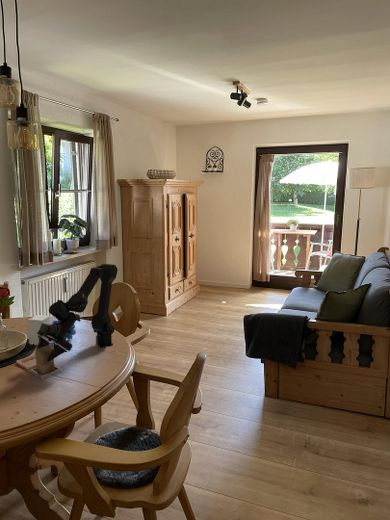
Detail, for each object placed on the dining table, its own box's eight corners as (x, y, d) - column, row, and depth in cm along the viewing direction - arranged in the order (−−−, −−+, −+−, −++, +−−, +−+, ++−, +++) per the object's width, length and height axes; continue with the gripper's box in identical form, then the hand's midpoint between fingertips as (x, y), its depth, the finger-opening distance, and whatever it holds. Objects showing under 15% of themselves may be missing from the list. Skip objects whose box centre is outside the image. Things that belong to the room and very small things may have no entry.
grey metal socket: (49, 365, 165) (49, 362, 165) (61, 371, 160) (60, 368, 159) (30, 372, 158) (30, 369, 158) (41, 379, 153) (41, 376, 153)
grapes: (50, 344, 187) (49, 321, 185) (52, 339, 193) (50, 316, 191) (76, 342, 190) (75, 319, 188) (76, 337, 196) (75, 314, 194)
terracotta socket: (39, 355, 174) (38, 353, 174) (51, 362, 168) (51, 359, 168) (16, 363, 167) (16, 360, 166) (28, 370, 160) (28, 367, 160)
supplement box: (42, 345, 186) (41, 320, 183) (28, 344, 187) (27, 319, 185) (51, 340, 193) (49, 315, 190) (37, 338, 194) (36, 314, 192)
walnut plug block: (48, 368, 163) (46, 345, 161) (54, 371, 159) (53, 348, 158) (36, 372, 159) (35, 349, 157) (43, 376, 156) (41, 352, 154)
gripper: (39, 310, 164) (15, 342, 157) (64, 320, 152) (39, 355, 146) (57, 323, 171) (35, 355, 165) (82, 334, 159) (59, 368, 153)
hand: (41, 358), depth 157 cm, fingers open, 9 cm apart
